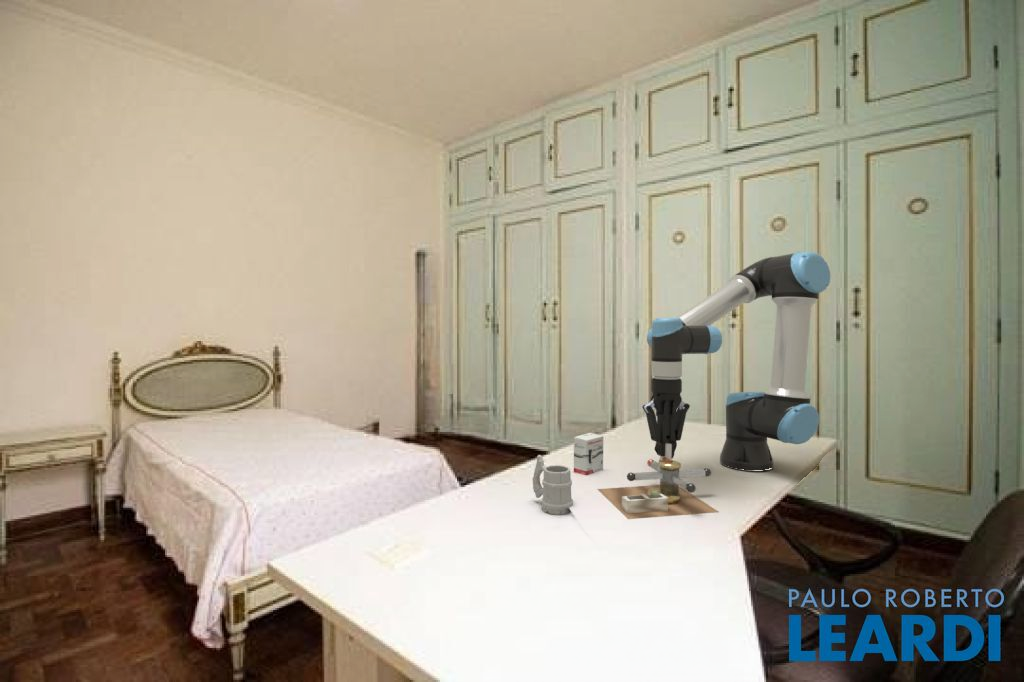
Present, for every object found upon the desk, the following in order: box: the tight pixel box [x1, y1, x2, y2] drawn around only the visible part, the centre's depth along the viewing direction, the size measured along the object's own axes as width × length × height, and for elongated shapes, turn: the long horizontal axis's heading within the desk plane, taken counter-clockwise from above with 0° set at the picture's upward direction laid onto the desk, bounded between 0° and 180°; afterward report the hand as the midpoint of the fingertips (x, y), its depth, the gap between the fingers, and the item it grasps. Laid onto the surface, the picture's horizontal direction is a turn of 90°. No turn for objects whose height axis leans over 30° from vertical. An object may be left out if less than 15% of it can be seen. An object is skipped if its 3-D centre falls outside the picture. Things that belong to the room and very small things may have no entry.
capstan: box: [626, 457, 712, 503], centre depth 119 cm, size 22×22×9 cm
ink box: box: [573, 432, 604, 476], centre depth 143 cm, size 8×5×12 cm, turn 134°
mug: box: [532, 454, 574, 516], centre depth 118 cm, size 8×12×12 cm, turn 43°
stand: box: [597, 484, 720, 520], centre depth 119 cm, size 22×20×6 cm
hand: (665, 468), depth 126 cm, fingers closed
